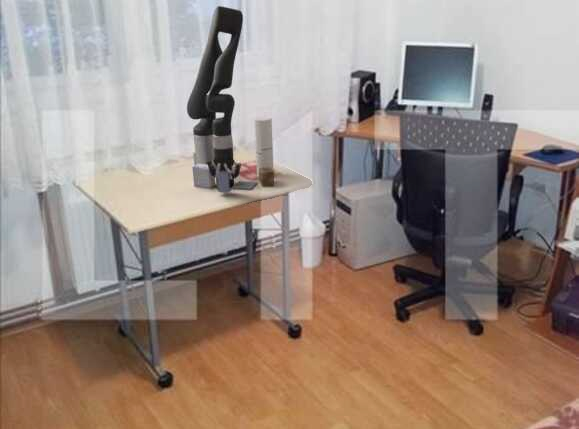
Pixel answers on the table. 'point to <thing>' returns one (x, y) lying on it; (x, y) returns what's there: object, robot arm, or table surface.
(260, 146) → the cylindrical container
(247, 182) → the pad
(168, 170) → the table surface
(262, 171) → the bearing block
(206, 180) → the medicine box
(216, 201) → the table surface
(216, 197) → the table surface
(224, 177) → the block
